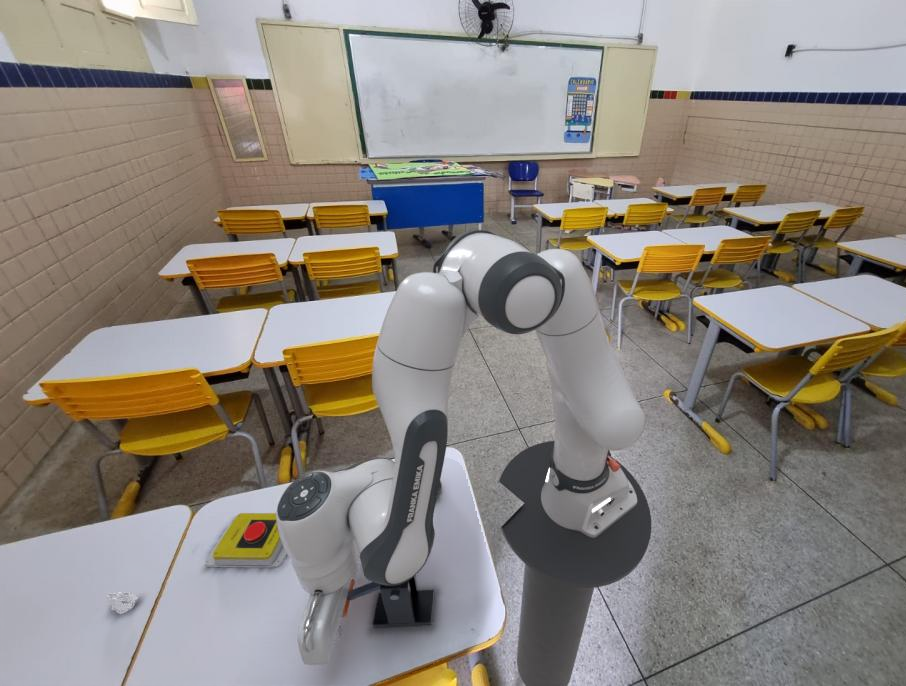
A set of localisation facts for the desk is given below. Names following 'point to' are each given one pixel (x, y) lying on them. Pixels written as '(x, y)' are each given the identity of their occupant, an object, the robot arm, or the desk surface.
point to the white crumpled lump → (118, 600)
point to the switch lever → (359, 593)
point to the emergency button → (249, 543)
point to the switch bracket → (403, 605)
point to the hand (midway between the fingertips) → (344, 602)
